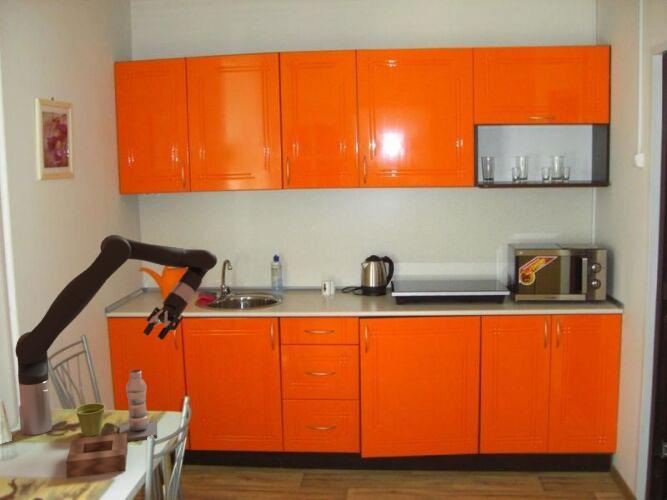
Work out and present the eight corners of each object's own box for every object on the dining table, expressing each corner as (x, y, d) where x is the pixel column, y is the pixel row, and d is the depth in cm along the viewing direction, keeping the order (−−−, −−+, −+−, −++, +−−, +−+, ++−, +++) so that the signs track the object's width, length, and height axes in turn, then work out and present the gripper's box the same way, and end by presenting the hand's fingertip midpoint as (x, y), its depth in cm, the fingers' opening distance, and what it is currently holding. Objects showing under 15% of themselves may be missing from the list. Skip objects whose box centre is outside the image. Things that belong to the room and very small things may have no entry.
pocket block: (66, 478, 192) (65, 461, 191) (73, 454, 207) (72, 439, 207) (125, 471, 196) (124, 454, 195) (127, 448, 211) (126, 433, 211)
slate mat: (118, 442, 216) (118, 439, 216) (120, 427, 228) (120, 425, 228) (157, 437, 219) (156, 434, 219) (157, 423, 231) (156, 421, 231)
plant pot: (100, 439, 219) (99, 413, 218) (72, 439, 219) (70, 413, 218) (110, 427, 228) (109, 403, 227) (83, 427, 229) (81, 403, 227)
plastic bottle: (143, 434, 220) (140, 374, 217) (124, 432, 221) (121, 373, 219) (152, 426, 226) (149, 368, 224) (134, 425, 228) (130, 367, 225)
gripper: (160, 289, 239) (133, 326, 232) (185, 294, 230) (157, 333, 222) (173, 301, 244) (147, 338, 236) (198, 306, 234) (171, 345, 227)
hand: (152, 336), depth 229 cm, fingers open, 8 cm apart
